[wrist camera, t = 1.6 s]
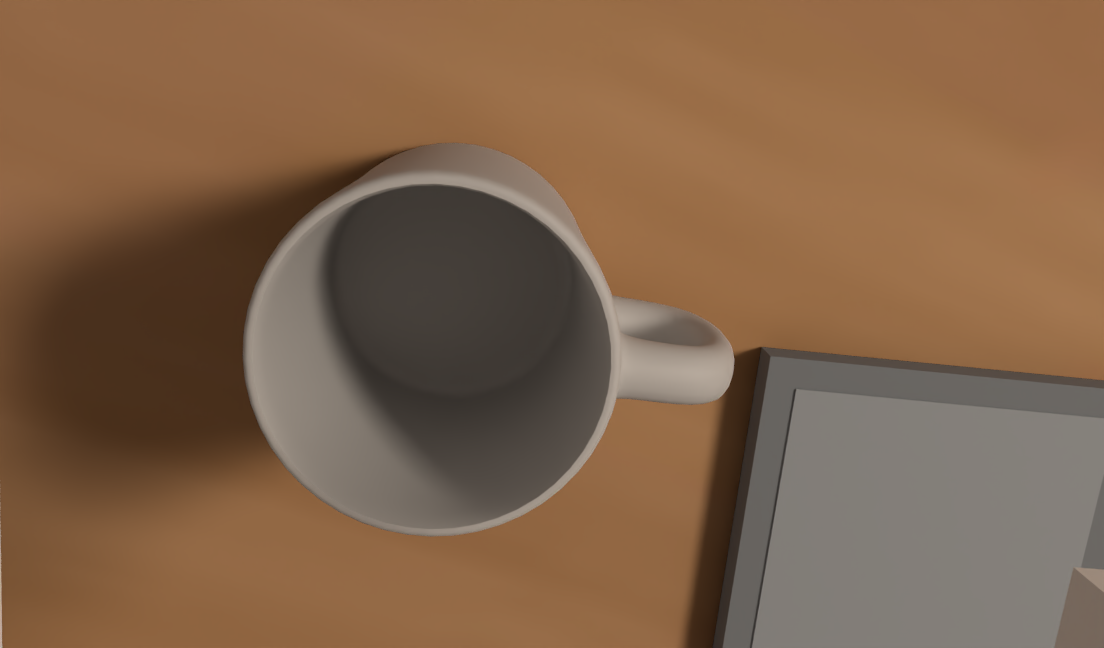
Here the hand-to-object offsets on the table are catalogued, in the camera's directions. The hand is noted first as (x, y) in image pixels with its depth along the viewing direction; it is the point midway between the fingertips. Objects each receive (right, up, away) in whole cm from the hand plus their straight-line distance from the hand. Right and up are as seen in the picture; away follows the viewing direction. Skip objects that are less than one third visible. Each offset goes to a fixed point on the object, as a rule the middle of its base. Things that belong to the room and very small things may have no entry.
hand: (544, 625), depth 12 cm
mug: (-1, +5, +21) cm, 21 cm away
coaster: (+13, -5, +23) cm, 27 cm away
